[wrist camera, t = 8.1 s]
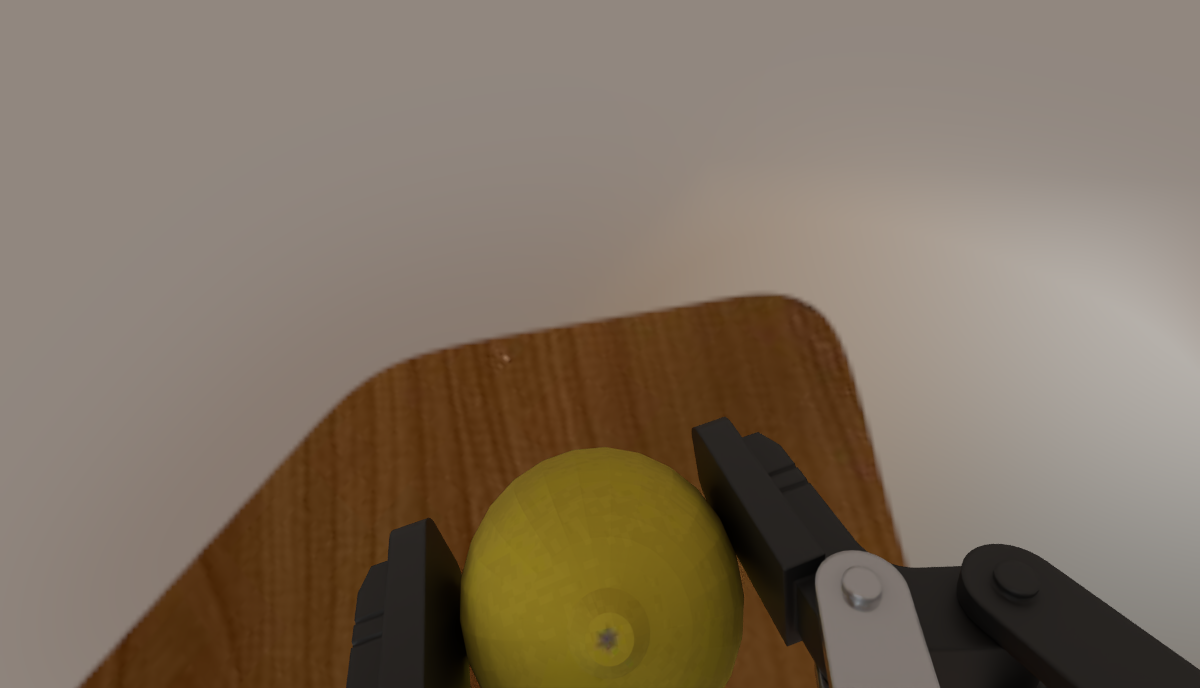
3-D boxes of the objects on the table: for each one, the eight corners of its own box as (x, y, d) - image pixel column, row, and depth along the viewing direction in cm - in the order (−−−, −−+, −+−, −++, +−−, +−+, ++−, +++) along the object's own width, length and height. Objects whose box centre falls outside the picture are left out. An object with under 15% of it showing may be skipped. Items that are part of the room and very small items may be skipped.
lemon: (614, 414, 16) (642, 361, 9) (736, 576, 15) (893, 682, 8) (454, 536, 15) (325, 600, 8) (574, 714, 15) (566, 991, 7)
